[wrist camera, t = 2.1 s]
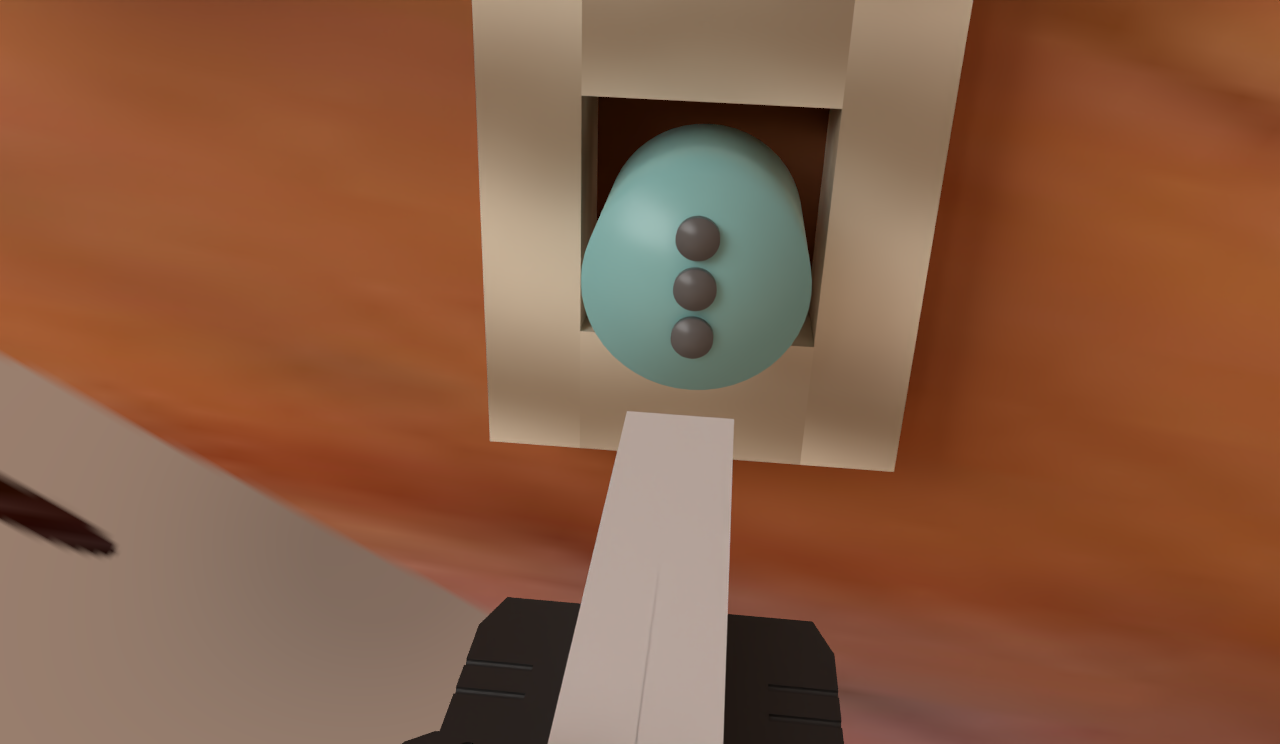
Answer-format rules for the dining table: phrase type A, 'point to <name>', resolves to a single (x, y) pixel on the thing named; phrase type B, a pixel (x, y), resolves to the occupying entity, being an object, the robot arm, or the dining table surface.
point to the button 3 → (699, 260)
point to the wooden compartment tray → (846, 224)
